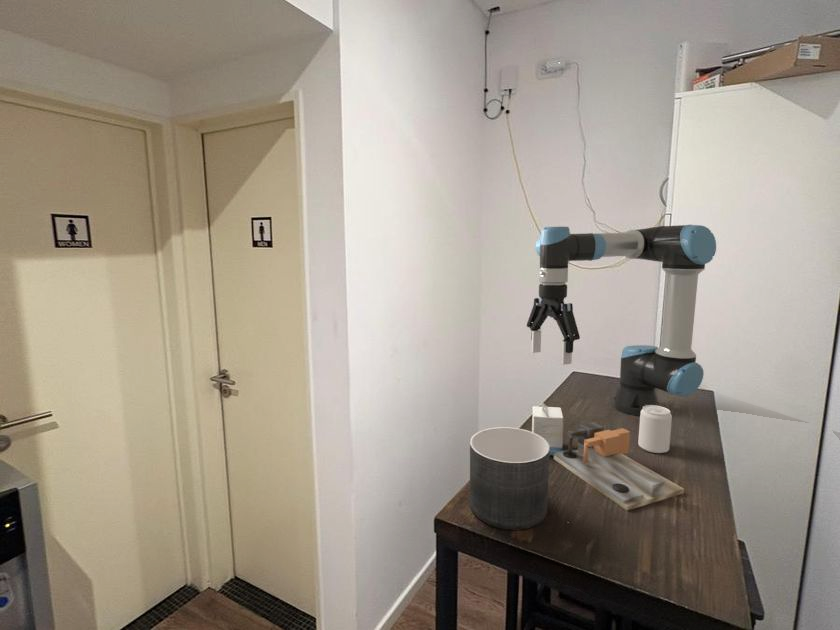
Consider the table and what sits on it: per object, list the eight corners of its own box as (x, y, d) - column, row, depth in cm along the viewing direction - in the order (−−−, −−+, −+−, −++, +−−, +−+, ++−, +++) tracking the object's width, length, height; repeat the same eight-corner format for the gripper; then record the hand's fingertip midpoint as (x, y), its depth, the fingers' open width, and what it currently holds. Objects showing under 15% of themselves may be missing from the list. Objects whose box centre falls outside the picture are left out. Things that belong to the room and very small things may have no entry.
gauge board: (603, 447, 131) (605, 417, 130) (683, 493, 107) (686, 457, 106) (553, 459, 125) (555, 427, 123) (626, 510, 101) (629, 472, 99)
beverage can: (634, 448, 130) (637, 410, 128) (643, 439, 136) (645, 402, 134) (664, 457, 125) (668, 417, 123) (672, 447, 131) (675, 409, 129)
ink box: (562, 457, 126) (564, 412, 124) (532, 454, 128) (533, 410, 126) (559, 443, 134) (561, 401, 132) (531, 441, 136) (532, 399, 134)
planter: (466, 485, 113) (467, 427, 110) (537, 485, 112) (539, 426, 109) (473, 530, 95) (473, 463, 92) (556, 531, 94) (559, 463, 92)
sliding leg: (619, 449, 124) (621, 427, 123) (631, 455, 120) (632, 432, 119) (578, 459, 119) (579, 436, 118) (589, 466, 115) (590, 442, 114)
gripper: (516, 280, 132) (514, 349, 136) (572, 288, 110) (569, 371, 113) (537, 279, 135) (535, 346, 139) (596, 287, 112) (592, 367, 116)
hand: (550, 357), depth 126 cm, fingers open, 13 cm apart
